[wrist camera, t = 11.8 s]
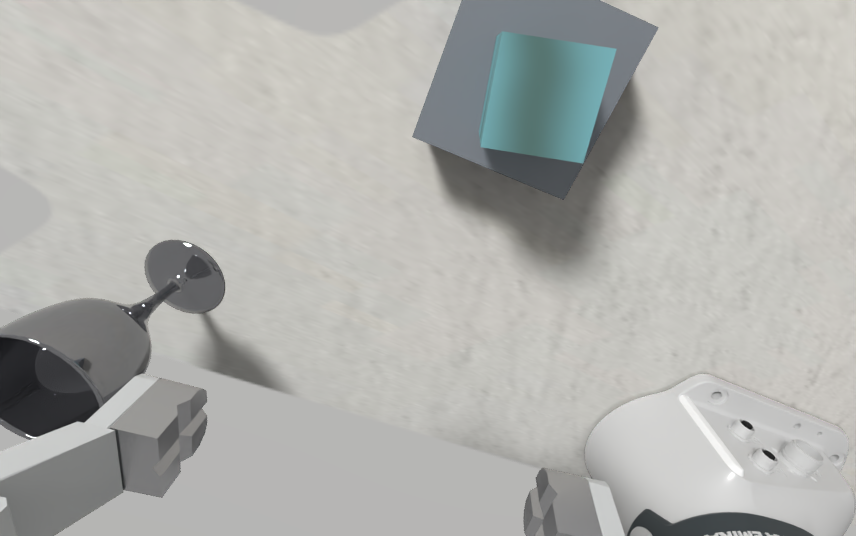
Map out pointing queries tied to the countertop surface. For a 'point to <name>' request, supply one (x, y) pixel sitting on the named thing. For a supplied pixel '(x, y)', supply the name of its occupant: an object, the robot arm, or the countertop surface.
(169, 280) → the wine glass
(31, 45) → the countertop surface
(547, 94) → the teal block
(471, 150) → the charcoal block
